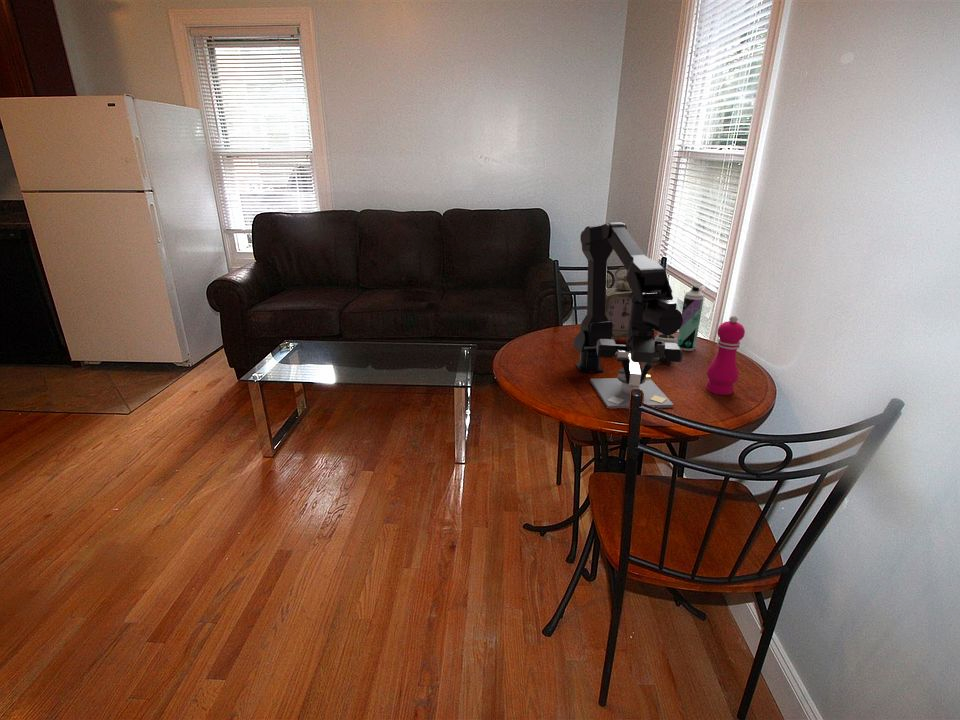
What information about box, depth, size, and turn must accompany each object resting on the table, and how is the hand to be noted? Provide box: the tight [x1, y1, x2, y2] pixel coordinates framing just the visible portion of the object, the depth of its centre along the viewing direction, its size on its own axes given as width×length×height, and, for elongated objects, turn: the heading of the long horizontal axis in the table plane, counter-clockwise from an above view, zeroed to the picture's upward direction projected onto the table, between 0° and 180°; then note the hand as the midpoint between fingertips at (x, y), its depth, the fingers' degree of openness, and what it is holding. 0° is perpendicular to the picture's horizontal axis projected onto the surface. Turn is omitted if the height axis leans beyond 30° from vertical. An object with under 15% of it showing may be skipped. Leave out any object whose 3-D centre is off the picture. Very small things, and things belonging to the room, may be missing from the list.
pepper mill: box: [706, 315, 746, 396], centre depth 122 cm, size 7×7×20 cm
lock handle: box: [616, 353, 651, 386], centre depth 121 cm, size 15×8×5 cm, turn 168°
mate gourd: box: [654, 333, 678, 367], centre depth 141 cm, size 8×8×15 cm
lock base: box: [590, 377, 674, 410], centre depth 123 cm, size 16×16×4 cm
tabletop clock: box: [605, 266, 632, 342], centre depth 155 cm, size 14×9×25 cm, turn 91°
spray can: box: [677, 285, 705, 352], centre depth 151 cm, size 6×6×20 cm
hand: (633, 383), depth 117 cm, fingers open, 2 cm apart
